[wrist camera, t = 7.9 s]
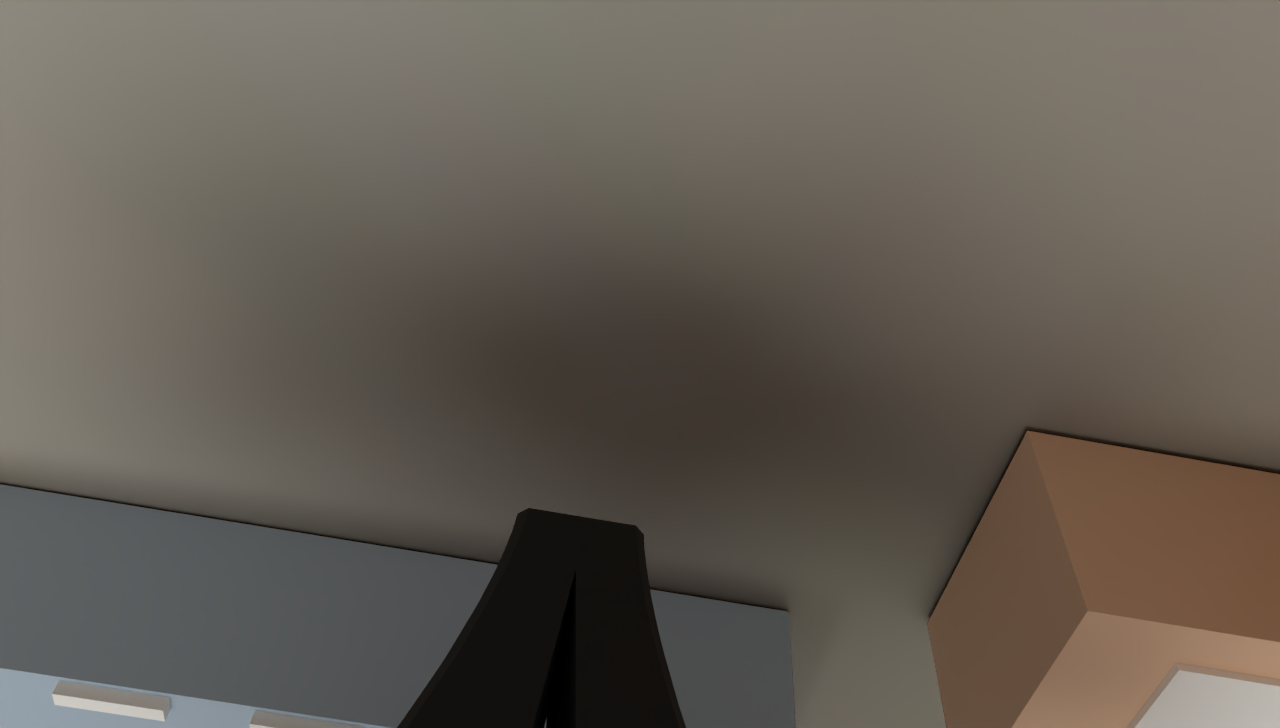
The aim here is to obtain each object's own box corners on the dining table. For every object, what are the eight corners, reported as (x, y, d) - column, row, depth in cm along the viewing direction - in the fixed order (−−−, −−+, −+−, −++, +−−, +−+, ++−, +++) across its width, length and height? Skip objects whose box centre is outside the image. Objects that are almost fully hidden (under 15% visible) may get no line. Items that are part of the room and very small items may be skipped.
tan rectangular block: (1360, 693, 17) (1467, 890, 15) (927, 623, 17) (962, 812, 14) (1529, 517, 15) (1692, 717, 12) (1027, 430, 14) (1089, 617, 12)
